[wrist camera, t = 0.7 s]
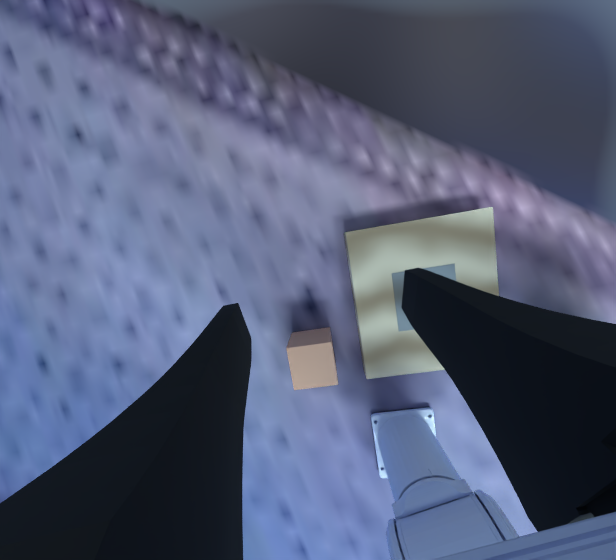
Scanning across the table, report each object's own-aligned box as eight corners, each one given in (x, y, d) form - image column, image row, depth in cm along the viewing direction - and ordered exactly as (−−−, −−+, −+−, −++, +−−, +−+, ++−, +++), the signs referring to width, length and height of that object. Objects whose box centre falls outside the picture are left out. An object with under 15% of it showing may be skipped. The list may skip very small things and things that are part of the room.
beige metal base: (491, 354, 29) (503, 362, 27) (363, 370, 31) (366, 379, 29) (480, 209, 27) (493, 206, 25) (343, 233, 28) (345, 232, 26)
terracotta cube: (335, 363, 31) (338, 384, 26) (298, 367, 31) (294, 390, 26) (329, 326, 30) (331, 342, 25) (292, 332, 31) (286, 348, 26)
